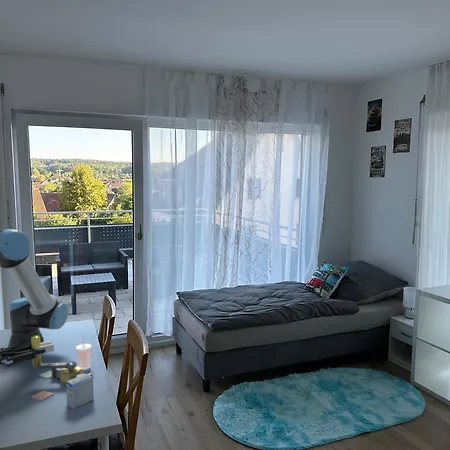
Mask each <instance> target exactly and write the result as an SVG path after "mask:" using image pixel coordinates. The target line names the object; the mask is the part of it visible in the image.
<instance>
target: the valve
mask: <svg viewBox="0 0 450 450" xmlns="http://www.w3.org/2000/svg"><path fill="white" fill-rule="evenodd" d="M50 370H51V371H52V377H51V379H53V380H54V379H56V378H59V379H60V380H59V381H60V384H62V385H65V386H66V382H67V381H69V380H71V379H74V378H76V377H78V376H81V375H84V374H85V373H83V372H84V370H83V369H82V368H80V367H78V365H77V366H76V367H75V368H73V369H66V368H57V369H50ZM87 374H88V375H90V376H91V377H93V373H91V372H90V373H87Z"/></svg>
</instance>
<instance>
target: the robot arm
mask: <svg viewBox="0 0 450 450" xmlns="http://www.w3.org/2000/svg"><path fill="white" fill-rule="evenodd" d="M30 245H31V241H30V239H29V237H28V235H26V233H25V232H23V231H22V230H18V229H13V228H5V229H3V228H0V268H1V269H3V270H7V271H8V272H9V274H10V276H11V278H13V280H14V282H15V284H16V285H17V287H18V288H19V289H20V291H21V293H22V294H23V296H24V297H21V298H17V299H14V300H13V301H11V302H10V305H9V317H10V318H9V319H10V328H11V329H10V330H11V331H10V332H11V334H10V337H9V340H8V345H7V347H0V365H6V366H7V367H10V366H13V365H15V364H21V363H22V362H26V361H31V360H32V359H34V358H36V355H40V354H41V355H43V354H48V353H53V352H55V344H54V343H52V341H51V340H49V341H45V339H44V336H43V334H42V331H41V329H48V330H59V329H61V328H62V327H64V325H65V324H66V323H67V320H68V316H69V307H68V305H67V304H66V303H63V302H59V301H58V298H57V297H56V296H55V295H53V294H51V293H49V291H48V290H47V288H46V286H45V285H44V283H43V281H42V279H41V277H40V276H39V274H38V273H37V271H36V270H35V267H34V266H33V265H32V263H31V260H30V259H29V258H30V257H29V256H30V252H31V246H30ZM36 335H39V336H40V346H41V347H37V348H35V349H32V342H31V337H32V336H36Z"/></svg>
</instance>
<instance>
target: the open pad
mask: <svg viewBox="0 0 450 450" xmlns="http://www.w3.org/2000/svg"><path fill="white" fill-rule="evenodd" d="M38 376H39V377H41V378H43V379H46V380H49V379H50V378H51V379H52V371H51V369H49V370H48V371H46V372H45V371H44V372H43V373H41V374H39V375H38Z"/></svg>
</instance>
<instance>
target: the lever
mask: <svg viewBox="0 0 450 450" xmlns="http://www.w3.org/2000/svg"><path fill="white" fill-rule="evenodd" d="M31 342H32V349H35V348H37V347H41V346H40V336H39V335H36V336H32V337H31ZM31 360H32V367H34V370H51V369H57V368H66V369H73V368H75V367H76V366H77V367H78V365H77V364H78V362H77V361H74V360H73V361H66V362H44V363H43V362H42V354H40V355H36V358H34V359H31Z"/></svg>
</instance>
